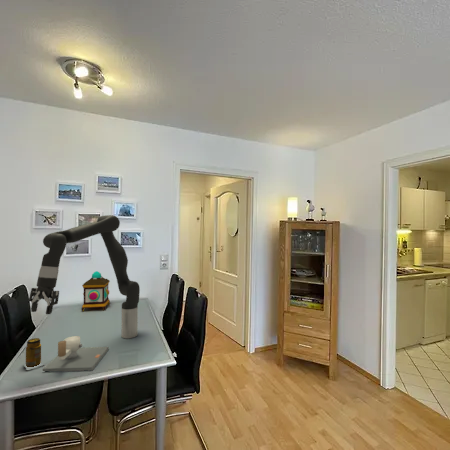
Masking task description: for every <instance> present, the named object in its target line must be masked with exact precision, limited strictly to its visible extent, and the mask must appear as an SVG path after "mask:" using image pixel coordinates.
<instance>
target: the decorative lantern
mask: <svg viewBox="0 0 450 450" xmlns="http://www.w3.org/2000/svg"><path fill="white" fill-rule="evenodd" d="M110 282H111V281H110V280H109V279H108V278H104V277H103V276H102V273H101V272H100V271H94V272H93V273H92V274H91V278H89V279H88V280H86V281H85V282H84V283H82V288H83V293H82V294H83V303H82V306H81V312H84V311H85V309H94V308H95V309H97V308H98V309H100V308H102V309H103V311H104V310H105V311H106V308H107V306H110V305H111V301H110V299H109V295H110V290H109V285H110ZM109 304H110V305H109Z"/></svg>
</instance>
